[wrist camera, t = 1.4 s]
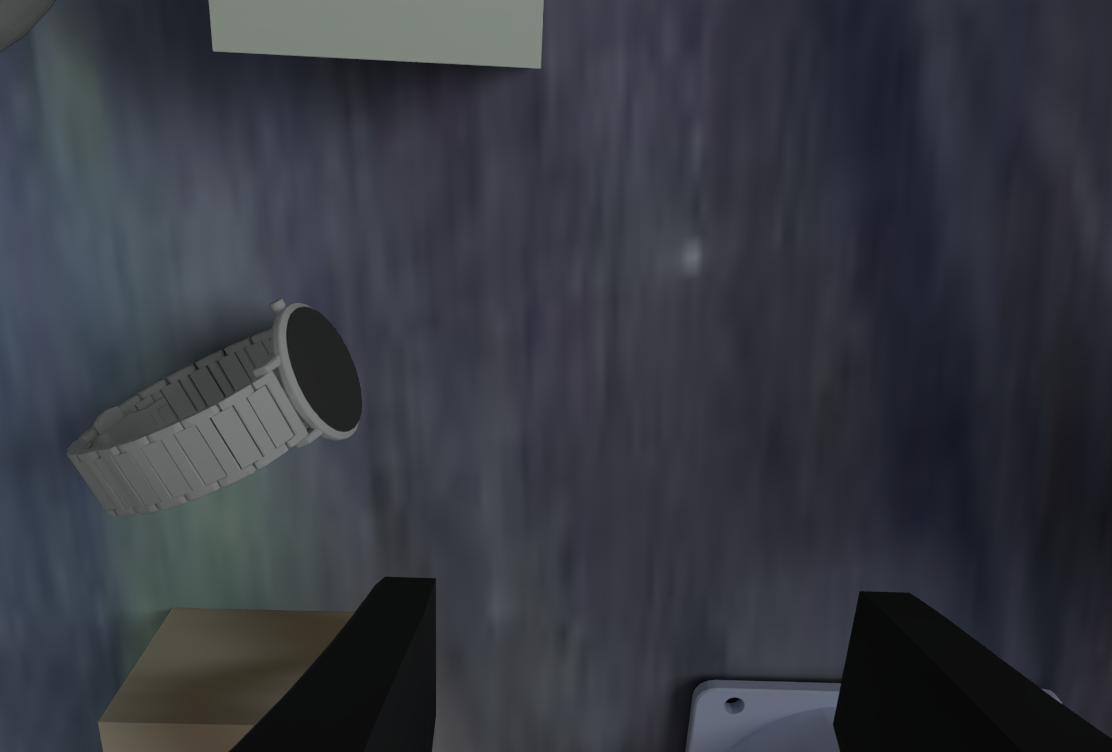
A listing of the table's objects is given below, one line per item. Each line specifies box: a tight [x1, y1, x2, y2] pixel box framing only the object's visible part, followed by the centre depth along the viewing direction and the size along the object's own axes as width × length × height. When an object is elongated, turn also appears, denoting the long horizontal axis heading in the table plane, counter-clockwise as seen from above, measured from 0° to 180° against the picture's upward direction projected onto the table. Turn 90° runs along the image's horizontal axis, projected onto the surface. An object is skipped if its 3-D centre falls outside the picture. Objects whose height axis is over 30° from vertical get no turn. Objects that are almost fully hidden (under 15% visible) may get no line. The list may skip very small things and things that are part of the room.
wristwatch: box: [66, 299, 362, 516], centre depth 17 cm, size 3×5×5 cm, turn 113°
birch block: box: [98, 608, 355, 752], centre depth 21 cm, size 5×5×4 cm
